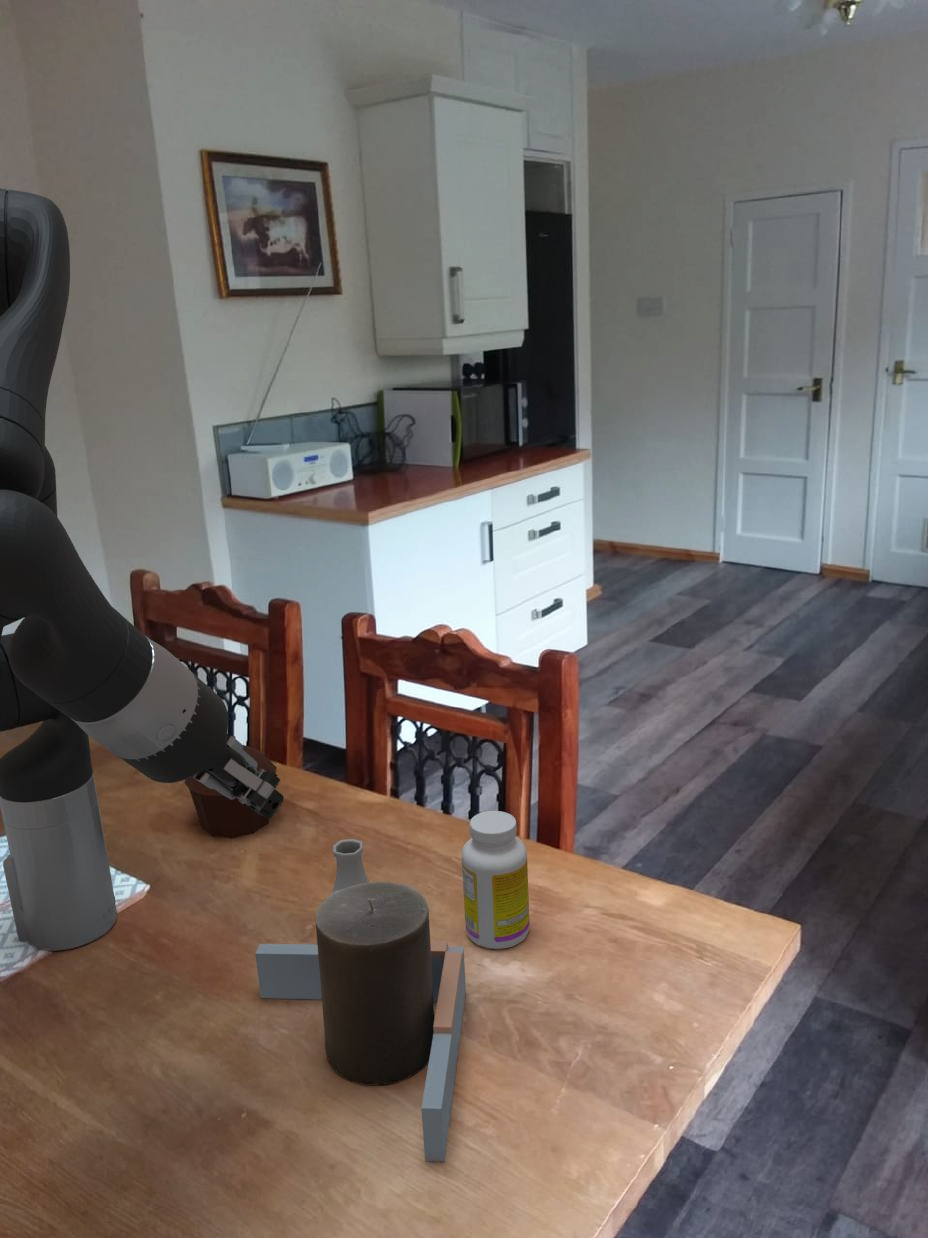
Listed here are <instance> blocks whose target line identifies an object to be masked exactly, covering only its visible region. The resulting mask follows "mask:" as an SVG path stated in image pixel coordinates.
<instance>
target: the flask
mask: <svg viewBox="0 0 928 1238" xmlns="http://www.w3.org/2000/svg"><path fill="white" fill-rule="evenodd" d="M363 852H364V841H362V840H359V839H355V838H349V839H340V840H338V841H337V842H336V843H334V844H333V845H332V855H333V857H334V858H336V873H335V880H334V883H333V888H332V890H331V893H333V892H334V891H337V890H341V889H345V888H347V887H350V886H354V885H357V884H362V883H364V884H365V883H370V882H371V881H370V880H369V878H368V876H367V873H366V871H365V868H364V864H363V860H362V853H363Z"/></svg>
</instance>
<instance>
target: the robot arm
mask: <svg viewBox="0 0 928 1238" xmlns="http://www.w3.org/2000/svg"><path fill="white" fill-rule="evenodd" d="M66 224H67V223H66V222H65V217H64V216H63V213H62V211H61V209H60V207H59V206H58V205H57V204H56V203H54V201H53V200H51V199H50V198H49V197H46V196H43V195H39V194H36V193H32V192H28V191H27V192H26V191H21V190H13V189H8V190H7V188H0V732H5V731H10V730H14V729H15V730H16V729H17V728H22V727H26V726H29V725H33V724H37V723H40V725H39V726H38V728H37V729H36V730H35V731H34V732H33V733H32V734H31V735H30V736H28V737H27V738H26V739H25V740H24V741H22V742H21V743H19V744H17V745H16V746H15V747H13V748H11V749H10V750H9V751H7V752H6V753H5V754H4V755H2V756H1V757H0V811H1V812H0V813H1V817H2V820H3V821H2V822H3V827H4V832H5V836H6V842H7V845H8V850H9V855H8V856H6V858H5V859H4V860H3V862H2V867H3V873H4V878H5V880H6V887H7V892H8V896H9V901H10V907H11V911H12V915H13V919H14V924H15V930H16V935H17V939H18V941H19V942H27V943H29V944H30V945H31V946H33V947H35V948H37V949H40V950H44V951H63V950H65V951H66V950H70V949H74V948H77V947H80V946H83V945H87V944H89V943H91V942H93V941H95V940H97V939H98V938H100V937H103V935H105V934H106V933H107V932H109V931H110V929H111V928H112V927H113V926H114V925H115V923H116V921H117V920H118V919H117V918H118V910H117V905H116V901H117V899H116V896H115V892H114V886H113V879H112V874H111V868H110V861H109V856H108V850H107V845H106V838H105V833H104V827H103V821H102V815H101V810H100V809H101V808H100V804H99V798H98V792H97V786H96V782H95V781H96V780H95V775H94V769H93V764H92V757H91V746H90V745H91V744H90V738H91V739H92V740H94V741H95V742H97V743H98V744H100V746H103V747H104V748H106V750H108V751H109V752H111V753H112V754H114V755H115V756H117V757H118V758H119V759H121V760H122V761H123V762H125V763H127V764H128V765H130V766H131V767H132V768H133V769H135V770H136V771H138V772H139V773H141V774H143V775H144V776H145V777H146V778H148V779H150V780H152V781H154V782H157V783H163V784H174V783H178V782H183V781H185V780H186V779H188V778H190V777H192V776H193V777H194V778H195V779H196V780H198V781H199V782H200V783H202V784H204V785H205V786H207V787H208V788H210V789H215V790H217V791H218V792H219V793H221V794H222V795H224V796H226V797H227V798H229V799H230V800H233V799H235V798H236V797H237V798H238V799H239V802H241V803H242V804H244V803H245V804H247V805H248V806H249V807H250V808H252V809H253V810H254V811H256V812H258V813H259V814H261V815H262V816H264V817H266V818H267V819H269V820H270V819H272V817H274V816H275V814H276V813H277V811H278V810H279V809H280V807H281V806H282V804H283V802H284V797H285V796H284V795H283V794H282V793H281V792H279V791H278V790H277V787H278V785H280V784H279V783H280V782H281V779H280V777H278V774H277V773H276V774H275V773H274V772H269V771H265V770H263V769H260V771H259V772H258V771H257V766H258V763H257V762H256V761H255V760H254V759H253V758H252V757H251V756H249V755H248V754H247V753H246V752H245V751H244V750H243V745H244V744H242V743H241V742H240V741H239V740H237V739H236V738H235V737H234V736H232V735H231V734H229V733H228V731H229V722H230V721H229V713H228V709H227V706H226V704H225V702H224V700H223V699H222V698H221V696H219V694H217V692H216V691H214V690H213V689H212V688H211V687H209V685H208V684H206V683H205V682H204V681H203V680H202V679H200V677H198V676H197V674H195V673H194V672H193V671H191V670H190V669H189V668H188V667H187V666H186V665H185V664H183V663H182V661H180V660H179V659H178V658H177V657H175V655H173V654H172V653H171V652H170V651H169V650H167V649H166V648H165V647H163V645H160V644H159V643H157V642H155V641H154V640H152V639H150V638H149V637H148V636H146V635H145V634H144V633H143V632H141V630H139V629H138V628H137V627H136V626H135V625H134V624H132V623H131V622H130V620H128V619H127V618H125V617H124V616H123V615H122V614H121V612H119V611H118V610H117V609H115V607H113V606H112V605H111V603H110V602H109V601H108V598H106V596H105V595H104V593H103V592H102V590H101V589H100V588H99V586H98V584H97V582H96V581H95V580H94V578H93V577H92V575H91V573H90V572H89V571H88V569H87V567H86V565H85V564H84V562H83V561H82V558H81V556H80V555H79V554H78V552H77V549H76V548H75V545H74V543H73V542H72V540H71V538H70V536H69V533H68V532H67V530H66V529H65V527H64V525H63V524H62V521H60V519H59V518H58V501H57V500H58V498H57V476H56V467H55V463H54V460H53V458H52V455H51V453H50V452H49V450H48V448H47V447H46V413H47V401H48V394H49V389H50V384H51V379H52V375H53V372H54V369H55V368H54V367H55V365H56V360H57V356H58V352H59V347H60V344H61V338H62V333H63V327H64V323H65V319H66V313H67V308H68V303H69V295H70V284H71V254H70V253H71V251H70V241H69V234H68V229H67V225H66ZM19 620H21V621H20V622H19V624H18V626H17V627H16V629H15V630H14V632H13V633H7V634H4V635H3V630H4V628H5V627H7V626H9V625H11V624H13V623H16V622H18V621H19ZM89 737H90V738H89Z"/></svg>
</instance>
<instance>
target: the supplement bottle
mask: <svg viewBox="0 0 928 1238" xmlns="http://www.w3.org/2000/svg"><path fill="white" fill-rule="evenodd" d="M517 830H518V829H517V820H516V818H515V817H514V815H512V814H510V813H508V812H505V811H500V810H487V811H483V812H480V813H477V814H475V815H474V816H473V817H472V818H471V819H470V820H469V835H470V837H471V838H470V839H468V840H467V842H466V843H465V844H464V846H463V847H462V851H461V866H462V867H461V871H462V885H463V886H462V887H463V889H462V890H463V903H464V905H463V906H464V907H463V908H464V922H465V931H466V935H467V936H468V938H469V939H470V940H471V941H472V942H473V943H474V944H477V945H478V946H480V947H484V948H487V949H491V950H493V949H495V950H498V949H499V950H501V949H508V948H512V947H514V946H516V945H518V944H520V943H522V941H524V940H525V939H526V938H527V935H528V933H529V931H530V900H529V899H530V898H529V897H530V896H529V873H528V851H527V847H526V845H525V843H524V842H523V841H522V840H521V839H520V838H519V837H517Z"/></svg>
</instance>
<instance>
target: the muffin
mask: <svg viewBox="0 0 928 1238" xmlns="http://www.w3.org/2000/svg"><path fill="white" fill-rule="evenodd" d="M242 745H243V750H244V751H245V752H246V753H247V754H248V755H249V756H251V757H252V758H253V759H254V760H255V761H256V762H257V763H258V766H257V771H258V772H259V771H260V769H263V770H265V771H269V772H274V773H275V774H277V766H276V765H275V764H274V763H273V762H272V761H271V760H270V759H269V758H268V757H267V756H266V755H264V754H263V753H262V752H261V751H260V750H259V749H257V748H255V747H252V746H248V745H245V744H242ZM184 785H186V787H187V788H188V790H189V793H190V796H191V799H192V802H193V805H194V808H195V811H196V814H197V818H198V821H199V824H200V826H201V829H202V830H203V831H205V832H207V834H208V835H210V837H212V838H215V837H216V838H225V839H231V840H232V839H235V838H240V837H242V836H249V835H254V834H255V833H257V832H258V831H259V830H261V829H262V828H264V827H266V826H268V825H270V819H267V818H266V817H264V816H262V815H261V814H259V813H258V812H256V811H254V810H253V809H252V808H250V807H249V806H248V805H247V804H245V803H244V804H242V803H241V802H239V799H238V798H237V797H236V798H235V799H233V800H230V799H229V798H227V797H226V796H224V795H222V794H221V793H219V792H218V791H217V790H215V789H210V788H208V787H207V786H205V785H204V784H202V783H200V782H199V781H198V780H196V779H195V778H194V777H193V776H192V777H190V778H188V779H186V780H184Z"/></svg>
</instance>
